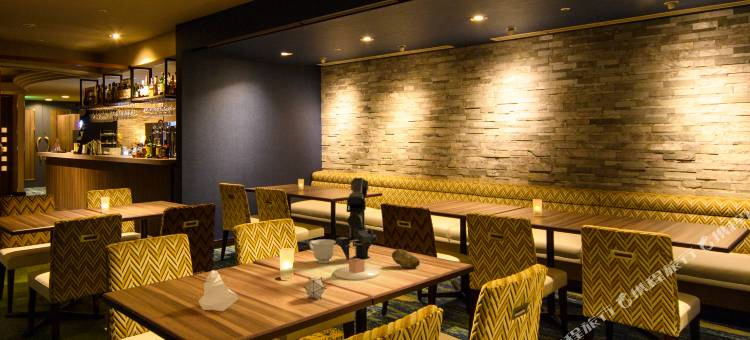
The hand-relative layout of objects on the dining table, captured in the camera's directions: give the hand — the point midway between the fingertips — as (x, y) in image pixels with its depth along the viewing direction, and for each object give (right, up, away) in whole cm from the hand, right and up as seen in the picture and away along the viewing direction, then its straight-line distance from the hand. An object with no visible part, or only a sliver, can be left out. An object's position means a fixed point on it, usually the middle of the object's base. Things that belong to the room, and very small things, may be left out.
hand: (356, 258), depth 241 cm
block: (0, -6, +1) cm, 6 cm away
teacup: (-18, -6, +24) cm, 31 cm away
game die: (-15, -10, -34) cm, 39 cm away
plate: (0, -7, +1) cm, 7 cm away
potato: (+22, -6, +13) cm, 27 cm away
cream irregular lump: (-49, -11, -43) cm, 66 cm away
